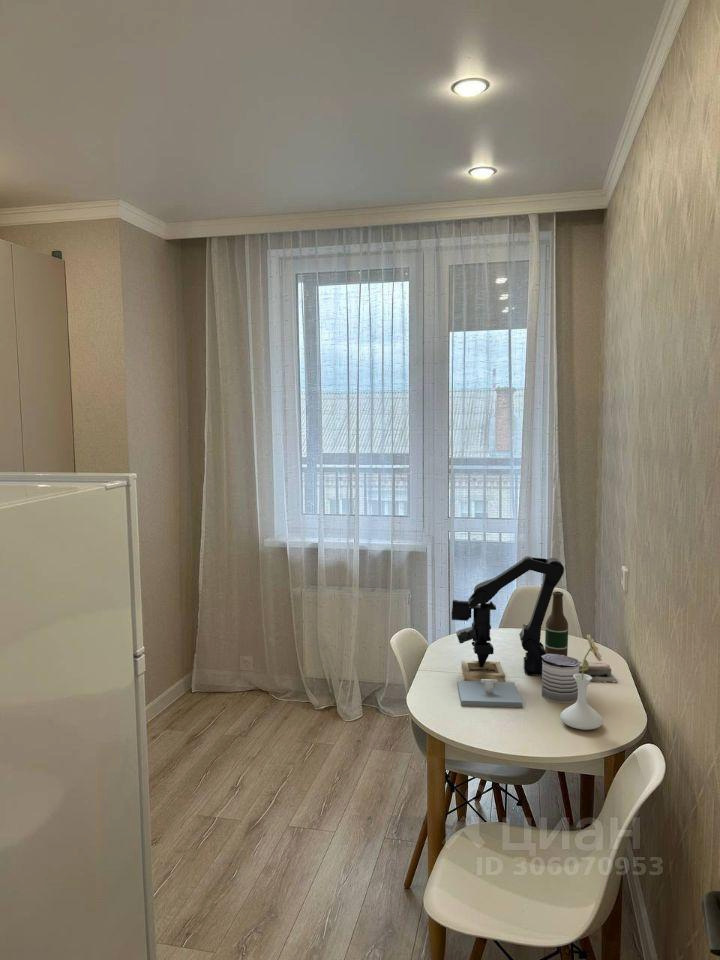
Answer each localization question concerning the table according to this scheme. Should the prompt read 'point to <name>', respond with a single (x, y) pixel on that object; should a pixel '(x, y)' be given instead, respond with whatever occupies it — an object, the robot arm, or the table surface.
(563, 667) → the can
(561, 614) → the beer bottle
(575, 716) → the flower in vase
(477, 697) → the hook board
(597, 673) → the packaged product
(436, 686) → the table surface
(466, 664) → the oak loop
